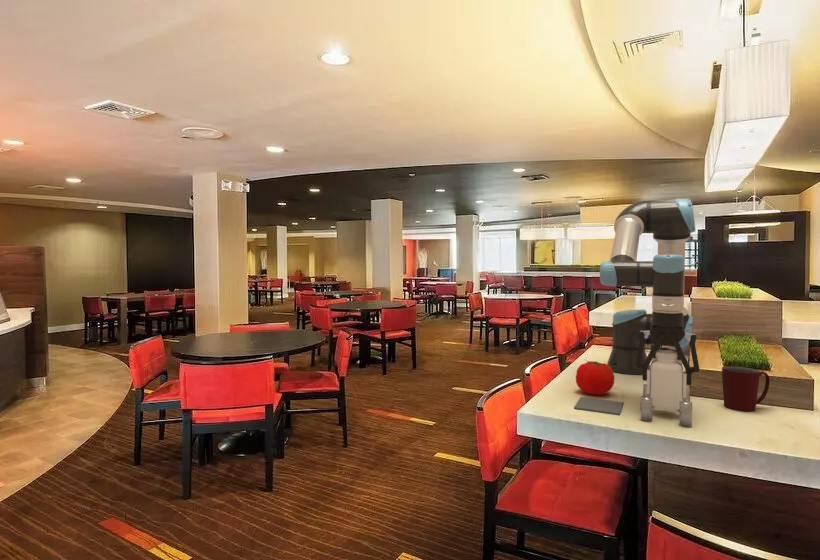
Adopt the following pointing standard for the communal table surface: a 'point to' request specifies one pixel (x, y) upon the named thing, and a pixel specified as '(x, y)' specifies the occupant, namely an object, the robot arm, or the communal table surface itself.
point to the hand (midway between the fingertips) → (666, 394)
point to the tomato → (595, 378)
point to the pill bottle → (666, 380)
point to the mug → (742, 387)
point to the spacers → (684, 409)
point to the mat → (599, 405)
